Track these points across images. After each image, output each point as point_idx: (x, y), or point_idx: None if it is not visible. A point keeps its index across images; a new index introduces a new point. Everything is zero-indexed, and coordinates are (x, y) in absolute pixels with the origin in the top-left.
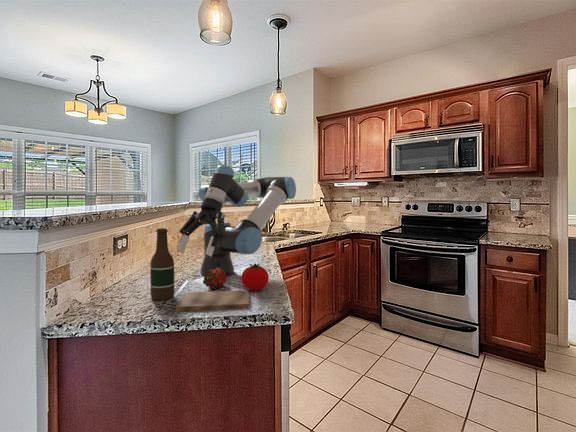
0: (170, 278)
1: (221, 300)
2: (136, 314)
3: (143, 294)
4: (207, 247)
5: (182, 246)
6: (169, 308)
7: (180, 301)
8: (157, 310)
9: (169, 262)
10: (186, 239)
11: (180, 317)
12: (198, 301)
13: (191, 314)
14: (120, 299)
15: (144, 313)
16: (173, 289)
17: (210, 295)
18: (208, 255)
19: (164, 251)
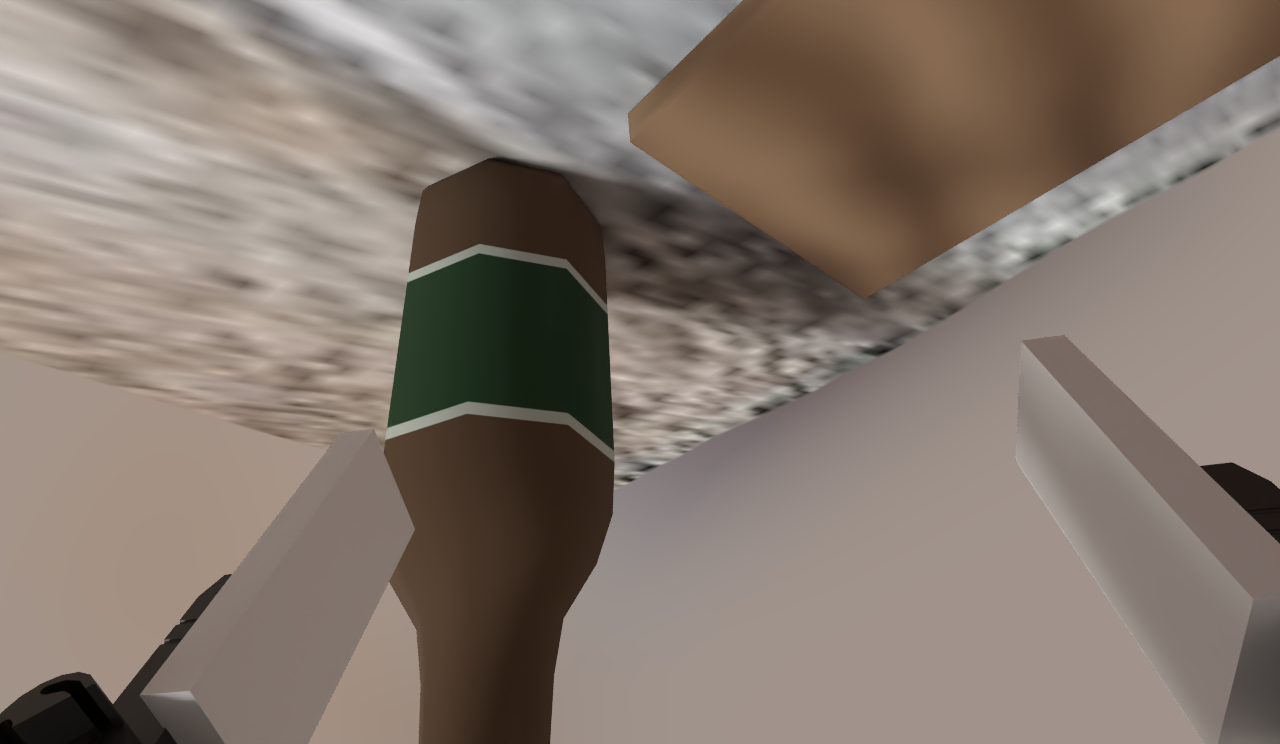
0: (597, 352)
1: (1149, 36)
2: (697, 382)
3: (331, 279)
4: (1067, 534)
5: (361, 558)
6: (769, 275)
7: (806, 250)
8: (736, 319)
9: (604, 505)
10: (275, 667)
11: (949, 289)
12: (939, 175)
13: (985, 240)
14: (372, 373)
15: (718, 362)
16: (571, 231)
17: (940, 20)
18: (1025, 385)
19: (559, 638)
